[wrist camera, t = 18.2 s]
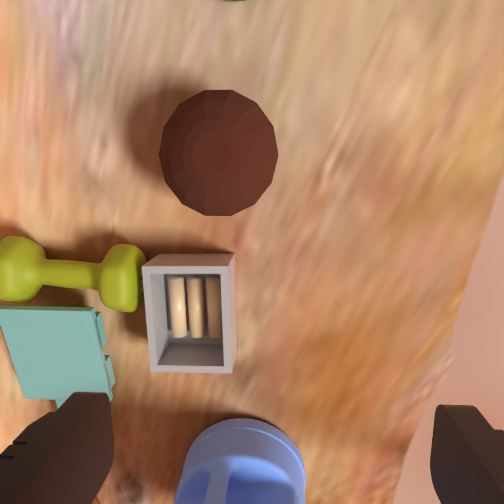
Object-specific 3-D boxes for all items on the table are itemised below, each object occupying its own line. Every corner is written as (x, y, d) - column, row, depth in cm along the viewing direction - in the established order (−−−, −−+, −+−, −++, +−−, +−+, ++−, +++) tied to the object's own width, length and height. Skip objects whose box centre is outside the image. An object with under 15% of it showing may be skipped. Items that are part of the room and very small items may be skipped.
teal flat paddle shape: (11, 296, 45) (-5, 309, 43) (102, 298, 44) (90, 311, 42) (49, 419, 53) (37, 437, 50) (127, 423, 52) (119, 441, 49)
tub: (159, 253, 47) (141, 266, 41) (234, 253, 46) (227, 266, 40) (166, 347, 49) (150, 371, 43) (237, 348, 48) (231, 373, 43)
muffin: (263, 220, 45) (258, 235, 35) (169, 196, 45) (138, 205, 35) (289, 113, 42) (291, 97, 32) (189, 89, 42) (162, 66, 33)
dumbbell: (23, 291, 49) (-20, 312, 42) (19, 228, 47) (-27, 239, 40) (152, 303, 48) (130, 326, 41) (153, 239, 46) (130, 252, 39)
